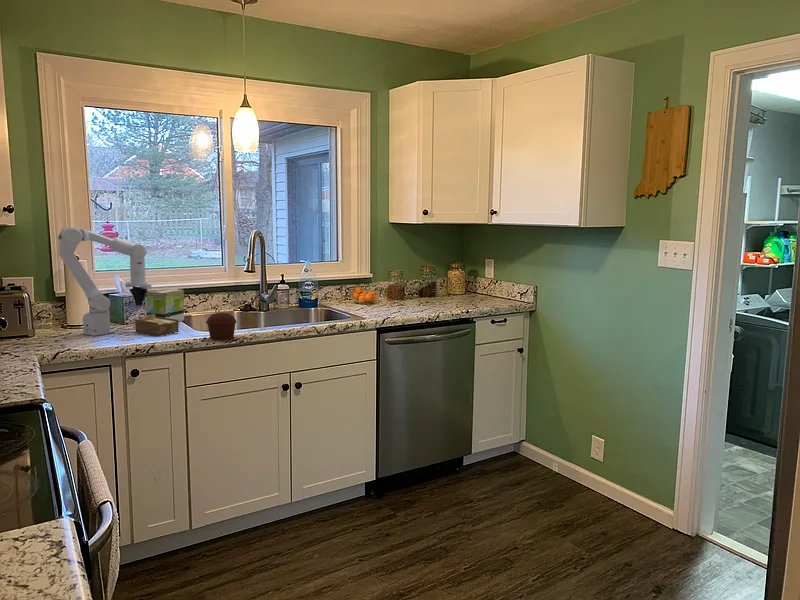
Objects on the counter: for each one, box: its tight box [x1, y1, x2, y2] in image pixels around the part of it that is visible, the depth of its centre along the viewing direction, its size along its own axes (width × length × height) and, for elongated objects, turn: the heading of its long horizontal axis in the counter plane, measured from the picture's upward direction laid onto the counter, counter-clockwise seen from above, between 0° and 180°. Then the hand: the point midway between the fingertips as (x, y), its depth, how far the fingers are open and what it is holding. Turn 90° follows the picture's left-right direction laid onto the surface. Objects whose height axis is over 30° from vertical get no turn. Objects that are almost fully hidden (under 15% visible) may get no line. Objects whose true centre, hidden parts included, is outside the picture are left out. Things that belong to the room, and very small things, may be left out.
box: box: [134, 317, 180, 337], centre depth 252 cm, size 10×14×6 cm
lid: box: [140, 314, 177, 326], centre depth 251 cm, size 8×14×2 cm, turn 59°
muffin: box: [205, 311, 237, 341], centre depth 243 cm, size 12×11×10 cm
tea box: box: [145, 288, 185, 322], centre depth 277 cm, size 15×10×15 cm
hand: (139, 305), depth 257 cm, fingers closed
